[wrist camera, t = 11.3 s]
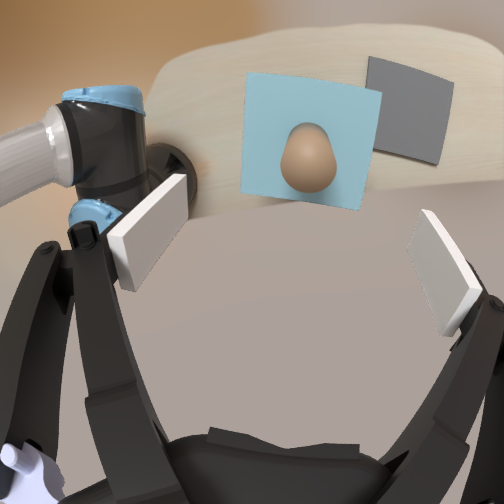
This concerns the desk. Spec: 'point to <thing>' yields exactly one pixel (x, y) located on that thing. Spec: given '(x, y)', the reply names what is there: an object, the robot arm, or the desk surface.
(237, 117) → the desk surface
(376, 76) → the mat
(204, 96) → the desk surface
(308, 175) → the lid
